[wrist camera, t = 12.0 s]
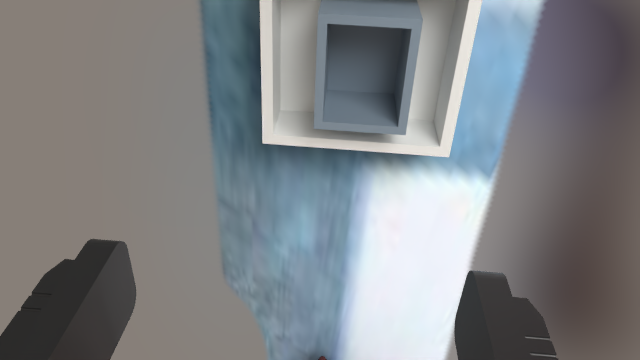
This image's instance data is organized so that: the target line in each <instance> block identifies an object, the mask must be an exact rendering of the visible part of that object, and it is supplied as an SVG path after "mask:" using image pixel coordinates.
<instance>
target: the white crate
mask: <svg viewBox="0 0 640 360" xmlns="http://www.w3.org/2000/svg"><path fill="white" fill-rule="evenodd" d="M417 2H418V5H419V8H420V12H421V15H422V18H423V23H422V30H421V37H420V43H419V50H418V56H417V63H416V70H415V76H414V83H413V90H412V96H411V103H410V110H409V116H408V123H407V130H406V135H395V134H380V133H366V132H352V131H337V130H323V129H314V104H315V78H316V52H317V26H318V11H319V7H320V3H321V0H260V41H261V91H262V141H263V144H277V145H290V146H304V147H318V148H331V149H345V150H358V151H372V152H386V153H399V154H413V155H426V156H440V157H449V155H450V150H451V145H452V140H453V136H454V131H455V126H456V122H457V117H458V112H459V108H460V103H461V98H462V93H463V89H464V84H465V79H466V75H467V70H468V65H469V60H470V56H471V51H472V46H473V42H474V37H475V32H476V27H477V23H478V18H479V13H480V9H481V4H482V0H417Z"/></svg>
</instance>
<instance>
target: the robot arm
mask: <svg viewBox="0 0 640 360" xmlns="http://www.w3.org/2000/svg"><path fill="white" fill-rule="evenodd" d="M135 300H136V286H135V281H134V276H133V272H132V267H131V262H130V258H129V253H128V249H127V245H126V244H125V242H122V241H111V240H98V239H91V240H89V241H88V242H87V243H86V244H85V246H84V247H83V248H82V250H81V251H80V253H79V254H78V256H77V257H76V259H75V260H69V259H64V260H63V261H62V262H60V263H59V264H58V265H57V266H55V267H54V268H52V269H51V270H50V271H48V272H47V273H46V274H45V275H44V276H43V277H42V279H41V280H40V282H39V283H38V284H37V286H36V287H35V289H34V290H33V291H32V295H31V296H29V297H28V299H27V300H26V301H25V303H24V304H23V305H22V307H21V311H18V312H17V314H16V315H15V317H14V318H13V319H12V321H11V322H10V323H9V325H8V326H7V328H6V329H5V330H4V332H3V333H2V334H1V336H0V360H110V358H111V356H112V354H113V352H114V350H115V348H116V346H117V344H118V342H119V340H120V338H121V336H122V333H123V331H124V329H125V327H126V325H127V323H128V321H129V319H130V317H131V314H132V312H133V309H134V306H135ZM455 344H456V349H457V355H458V360H558V359H557V358H556V352H555V349H554V346H553V344H552V342H551V341H550V336H549V333H548V330H547V327H546V325H545V322H544V319H543V317H542V316H541V314H540V313H539V312H538V311H537V310H536V309H535V308H534V306H533V305H532V304H531V303H530V301H528V299H527V298H517V297H512V294H511V291H510V288H509V285H508V282H507V279H506V276H505V275H504V274H503V273H493V272H481V271H469V273H468V275H467V277H466V281H465V285H464V288H463V292H462V296H461V299H460V303H459V306H458V310H457V314H456V319H455Z"/></svg>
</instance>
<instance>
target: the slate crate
mask: <svg viewBox="0 0 640 360" xmlns="http://www.w3.org/2000/svg"><path fill="white" fill-rule="evenodd" d="M422 23H423V18H422V15H421V12H420V8H419V5H418V2H417V0H321V3H320V7H319V11H318V26H317V52H316V78H315V104H314V129H323V130H337V131H352V132H366V133H380V134H395V135H406V130H407V123H408V116H409V110H410V103H411V96H412V90H413V83H414V76H415V70H416V63H417V56H418V50H419V43H420V37H421V30H422Z"/></svg>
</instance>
